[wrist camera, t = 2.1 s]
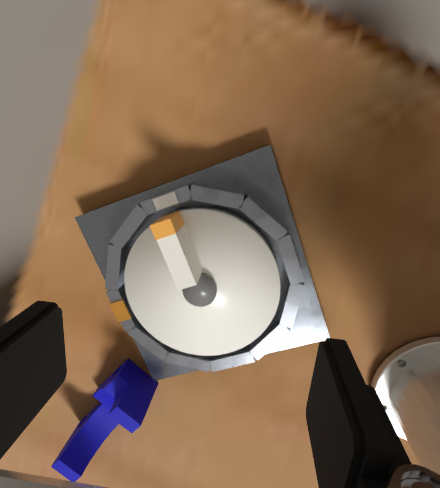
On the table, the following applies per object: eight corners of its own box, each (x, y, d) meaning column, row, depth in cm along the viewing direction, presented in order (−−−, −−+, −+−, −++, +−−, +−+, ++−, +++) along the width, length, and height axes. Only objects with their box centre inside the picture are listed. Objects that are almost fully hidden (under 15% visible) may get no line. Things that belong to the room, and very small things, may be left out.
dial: (297, 324, 30) (305, 356, 26) (165, 358, 33) (150, 392, 29) (250, 183, 27) (249, 190, 22) (107, 233, 30) (79, 249, 25)
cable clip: (128, 357, 36) (105, 396, 30) (158, 381, 37) (140, 425, 31) (71, 413, 40) (39, 458, 34) (99, 435, 40) (73, 482, 34)
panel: (269, 144, 28) (271, 144, 24) (326, 330, 32) (334, 351, 29) (83, 214, 31) (62, 222, 28) (158, 371, 36) (147, 394, 33)
